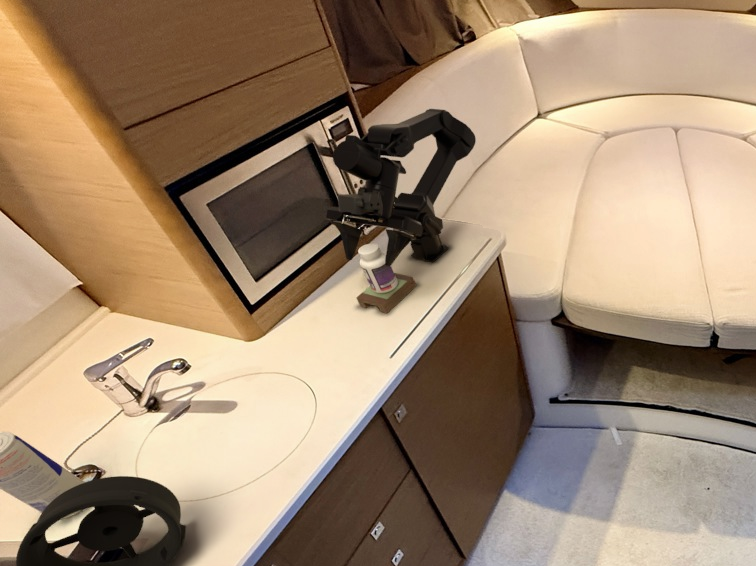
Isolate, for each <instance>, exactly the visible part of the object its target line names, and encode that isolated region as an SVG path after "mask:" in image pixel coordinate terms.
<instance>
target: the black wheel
mask: <svg viewBox="0 0 756 566" xmlns="http://www.w3.org/2000/svg"><path fill="white" fill-rule="evenodd" d="M84 482H85V483H82V484H80V485H77V486H75V487H73V488H71V489H69V490H67V491H65V492H64V493H62V494H61V495H59V496H58V497H56V498H55V499H54V500H53V501H52V502H51V503H50V504H49V505H48V506H47V507H46V508H45V509H44V511H43V512H42V513H41V514H40V516H39V517H38V519H37V521H36V522H35V523H33V524H32V525H31V527H30V528H29V529H28V531H27V532H26V534H25V535H24V537H23V539H22V540H21V543H20V545H19V547H18V550H17V554H16V556H15V557H16V559H15V565H16V566H170V565H171V564H172V563H173V561H174V560H175V559H176V557H177V556H178V554H179V552H180V550H181V548H182V546H183V544H184V541H185V538H186V532H187V531H186V530H187V525H186V524H182V523H181V518H182V510H181V509H182V508H181V504H180V501H179V499H178V497H177V496H176V495H175V494H174V492H172V490H170V489H169V488H168V487H166V485H165V486H164V485H163V484H161V483H160V482H157V481H156V480H155V481H154V480H151V479H148V478H145V477H138V476H129V475H128V476H127V475H118V476H107V477H101V478H96V479H92V480H89V481H84ZM138 507H139V508H141V509H139V508H138ZM91 508H94V509H92V510H91V511H89V512H88V513H87V514H86V515H85V516H84V517H83V518H82V519H81V521H80V523H79V525H78V528H77V532H76V533H73V534H71V535H68V536H66V537H63V538H59V539H58V540H55V541H53V542H48V540H47V537H46V536H47V535H46V532H47V531H48V530H49V529H50V528H52V526H53V525H54V524H56V523H57V522H59V521H61V520H62V519H65V518H64V517H66V516H68V515H70V514H72V513H74V512H77V511H79V512H81V511H82V510H86V509H91ZM142 508H143V509H142ZM80 510H81V511H80ZM77 513H78V512H77ZM154 514H156V515H157V516H158V517H160V518H161V519H162V520H163V521H164V523H165V525H166V526H167V532H166V533H165V534H164V536H163V537H162V538H161V539H160V540H159V541H158V542H157V543H155V544H154V545H153V546H151V547H150V548H148V549H146V550H144V551H142V552H138V553H137V552H136V550H135V548H134V546H133V545H132V543H133V542H134V541H135V540H136V539H137V538H138V537H139V536H140V534H141V532H142V529H143V526H144V522H145V521H144V518H147V517H149V516H152V515H154ZM66 518H67V517H66ZM77 542H78V543H79V544H80V545H81V546H83V548H86V549H88V550H90V551H95V552H109V551H115V550H120V549H122V550H123V551H124V553H125V554H126V555H127V556H128V557H126V558H123V559H119V560H114V561H105V562H88V561H80V560H75V559H71V558H69V557H66V556H64V555H62V554H61V553H58V552H57V551H55V550H56V549H59V548H63V547H65V546H69V545H71V544H72V545H73V544H74V543H77Z"/></svg>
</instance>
